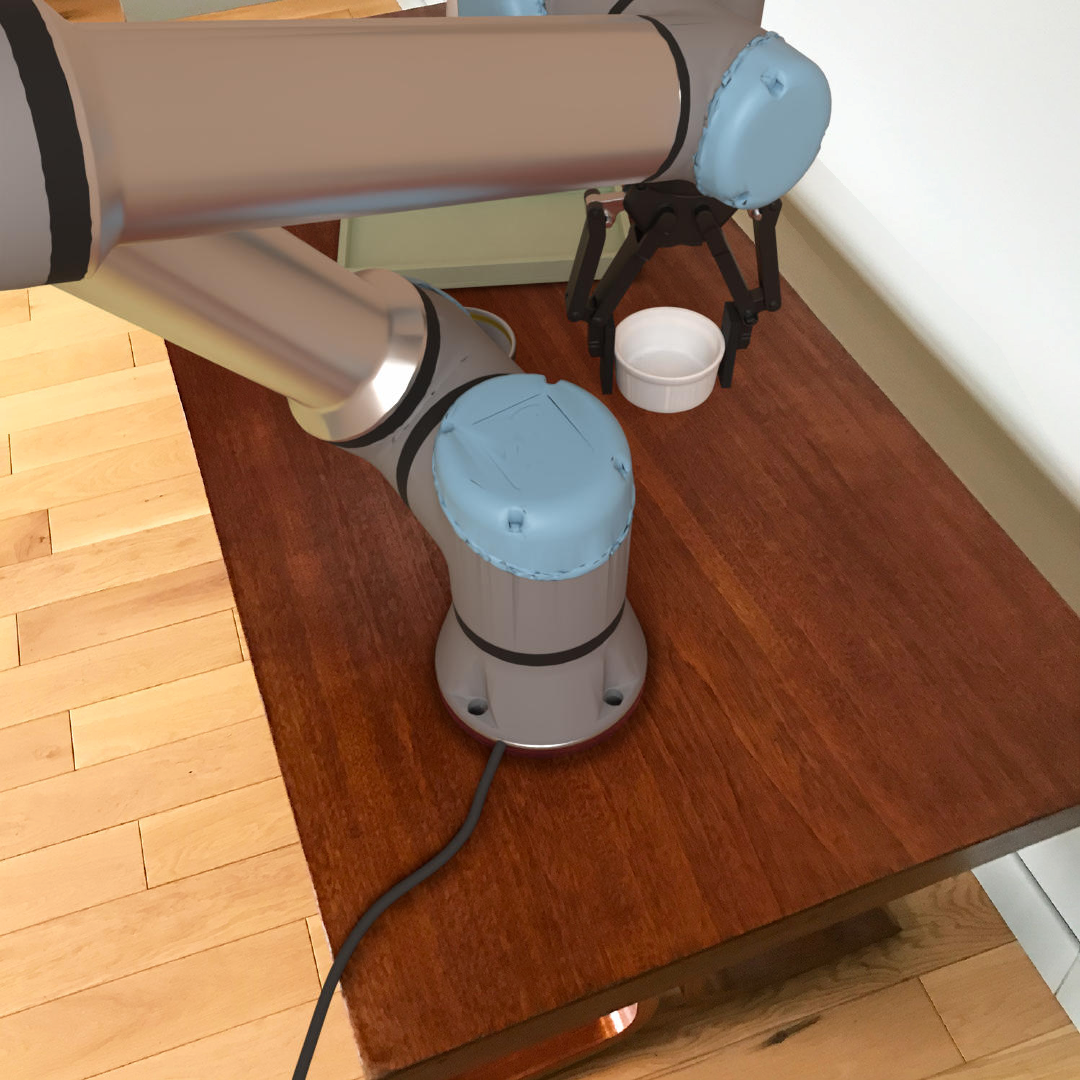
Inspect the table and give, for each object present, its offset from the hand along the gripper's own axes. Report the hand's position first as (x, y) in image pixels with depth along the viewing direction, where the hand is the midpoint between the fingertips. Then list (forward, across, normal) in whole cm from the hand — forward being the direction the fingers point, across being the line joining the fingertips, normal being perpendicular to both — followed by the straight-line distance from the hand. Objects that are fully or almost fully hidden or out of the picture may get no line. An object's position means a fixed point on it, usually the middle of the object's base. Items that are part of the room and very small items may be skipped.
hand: (664, 380), depth 90 cm
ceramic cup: (+8, +18, -2) cm, 20 cm away
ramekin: (0, 0, 0) cm, 0 cm away
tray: (+8, +14, -32) cm, 36 cm away
